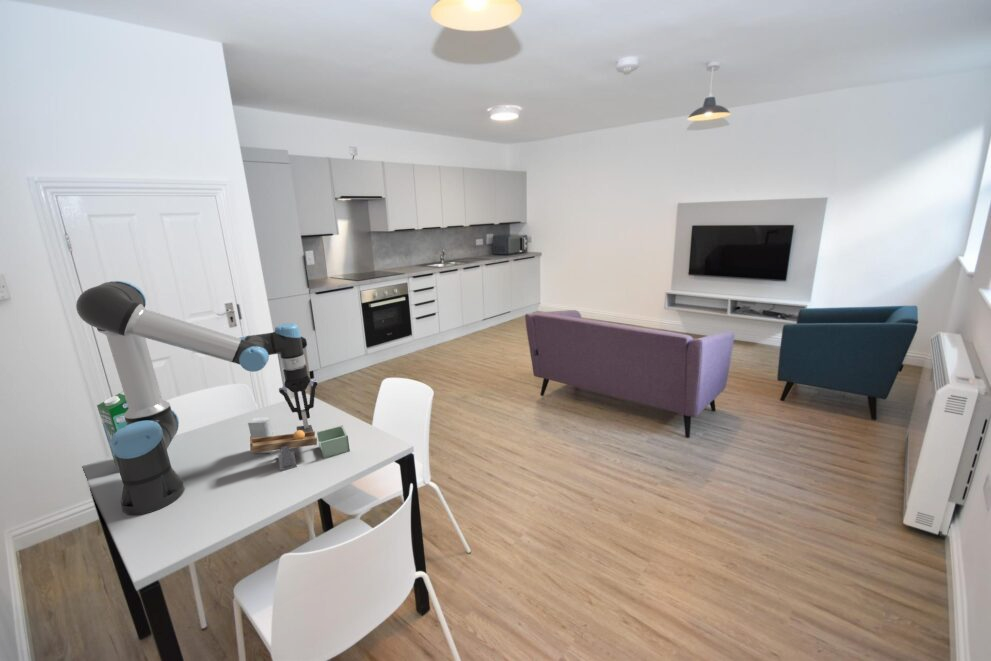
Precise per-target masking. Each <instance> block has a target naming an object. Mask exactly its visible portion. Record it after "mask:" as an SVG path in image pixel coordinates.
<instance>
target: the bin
mask: <svg viewBox="0 0 991 661" xmlns="http://www.w3.org/2000/svg"><path fill="white" fill-rule="evenodd" d="M316 435H317V442H318V445H319V450H320V453H321V456H322V458H323V459H326V458H331V457H333V456H336V455H341V454H344V453H346V452H351V450H350V444H349V436H348V433H347V431H346V429H345V427H344V425H343V424H342V425H338V426H335V427H334V426H333V427H330V428H326V429H323V430H319V431H316Z"/></svg>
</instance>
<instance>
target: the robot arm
mask: <svg viewBox="0 0 991 661" xmlns="http://www.w3.org/2000/svg"><path fill="white" fill-rule="evenodd" d="M146 300H147V299H146V295H145V294H144V292H143V291H142V290H141V288H139V287H138V286H136V285H135V284H132V283H130V282H127V281H124V280H123V281H122V280H115V281H106V282H103V283H100V284H99V285H97V286H93V287H90V288H88V289H86V290H85V291H83V292H82V293H81V294H80V295H79V297H78V298H77V300H76V303H75V304H76V305H75V307H76V308H75V309H76V312H77V315H78V316H79V318H80V319H81V320H82V321H84V322H85V323H86V324H88V325H89V326H91V327H93V328H96V329H97V330H96V331H97V332H98V333H101V334H103V335H105V336H106V339H107V342H108V346H109V348H110V352H111V355H112V358H113V362H114V365H115V368H116V372H117V375H118V379H119V381H120V385H121V388H122V392H124V395H125V398H126V402H127V405H128V410H127V411H126V413H125V414H124V417H125V420H126V424H127V426H125V427H124V428H121V429H119V430H118V431H117V432H116V433H115V434H114V435H113V436H112V438H111V448H112V452H113V454H114V457H115V460H116V463H117V465H116V466H117V469H118V473H119V475H120V479H121V481H122V492H121V500H120V506H121V508H122V509H121V510H122V511H123V513H124V514H126V515H130V516H137V515H138V516H139V515H143V514H149V513H151V512H155V511H158V510H160V509H162V508H165V507H167V506H169V505H171V504H172V503H174V502H175V501H176V500H178V499H179V498H181V496H182V495H183V494H184V493H185V485H184V482H183V480H182V478H181V477H180V476H179V475H178V474H177V473H176V471H175V470H174V468H173V467H172V464H171V461H170V456H169V453H168V448H169V447H170V445H171V442H172V441H173V439H174V438H175V436H176V435H177V433H178V430H179V427H180V426H179V424H180V421H179V417H178V414H177V413H176V412H175V411H174V410H173V409H172V407H171V405H170V404H171V403H170V402H168V401H166V400H164V399H163V398H162V393H161V389H160V386H159V382H158V379H157V376H156V375H157V374H156V371H155V369H154V364H153V361H152V358H151V354H150V350H149V346H148V343H147V340H146V339H148V340H152V341H156V342H160V343H162V344H165V345H168V346H169V345H170V346H174V347H176V348H180V349H182V350H183V349H184V350H188V351H192V352H195V353H198V354H200V355H201V354H202V355H205V356H209V357H212V358H215V359H219V360H223V361H227V362H229V363H234V364H237V365H240V366H241V367H242V369H244V370H245V371H248V372H253V373H254V372H259V371H261V370H263V369H264V368H265V366H267V363H268V362H269V357H270V356H271V355H277V354H279V356H280V360H281V366H282V368H283V370H282V371H283V376H284V383H283V384H284V385H283V386H282V387H279V388H278V392H279V393H280V394H281V395H282V396H283V397H284V400H285V401H286V403H287V405H288V407H289V409H290V412H291V413H297V417H298V421H302V424H303V425H302V426H304V429H306V428H309V427H308V425H309V423H308V419H310V418H311V415H310V409H314V406H315V397H316V396H315V395H316V388H317V386H318V381H317V380H313V379H311V378H310V377H309V374H308V373H309V372H308V369H307V365H306V358H305V353H304V347H303V340H302V335H301V331H300V328H299V325H298V324H297V323H293V322H289V323H288V322H287V323H281V324H278V325H276V326H275V328H274V331H272V332H267V333H260V334H252V335H245V336H242V337H236V336H233V335H230V334H227V333H224V332H220V331H216V330H212V329H210V328H207V327H205V326H204V327H203V326H201V325H197V324H193V323H190V322H188V321H185V320H181V319H179V318H178V319H177V318H175V317H171V316H170V315H169V316H168V315H164V314H161V313H159V312H156V311H152V310H149V309H146V305H147V301H146ZM309 385H310V386H309ZM308 387H310V391H309V392H310V394H309V403H308V398H307V392H306V390H307V388H308ZM287 389H288V390H289V391H290V392H292V393H293V396H294V397H293V398H294V402H295V406H294V404H293V402H292V400H291V398H290V396H289V394H288V392H287V391H288V390H287ZM299 393H301V398H302V403H303V408H304V409H302V408H301V403H300V398H299Z"/></svg>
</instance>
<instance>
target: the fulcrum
mask: <svg viewBox="0 0 991 661" xmlns="http://www.w3.org/2000/svg"><path fill="white" fill-rule="evenodd" d="M284 435H286V434H284ZM280 452H281V454H278V455H277V456H278V457H277V458H278V465H279V470H280V472H283V471H287V470H291V469H294V468H297V461H296V456H295V452H294V450H292V451H290V448H289V446H288V445H285V446H281V449H280Z"/></svg>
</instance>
